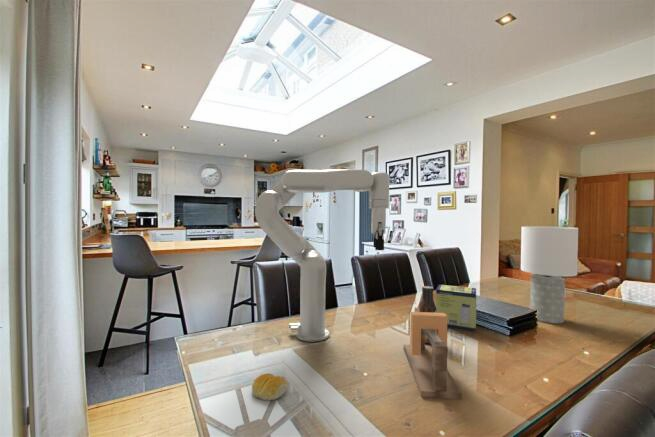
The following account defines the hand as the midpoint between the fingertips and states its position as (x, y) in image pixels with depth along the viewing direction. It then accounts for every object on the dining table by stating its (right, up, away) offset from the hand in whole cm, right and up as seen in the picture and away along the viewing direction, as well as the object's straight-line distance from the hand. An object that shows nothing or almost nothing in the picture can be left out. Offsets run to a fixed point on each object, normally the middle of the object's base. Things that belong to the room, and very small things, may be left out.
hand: (378, 248), depth 120 cm
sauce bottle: (+17, -34, -6) cm, 38 cm away
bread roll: (-35, -34, -39) cm, 63 cm away
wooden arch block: (+10, -29, -27) cm, 41 cm away
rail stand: (+10, -34, -27) cm, 45 cm away
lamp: (+79, -34, +19) cm, 88 cm away
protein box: (+35, -34, +11) cm, 50 cm away
